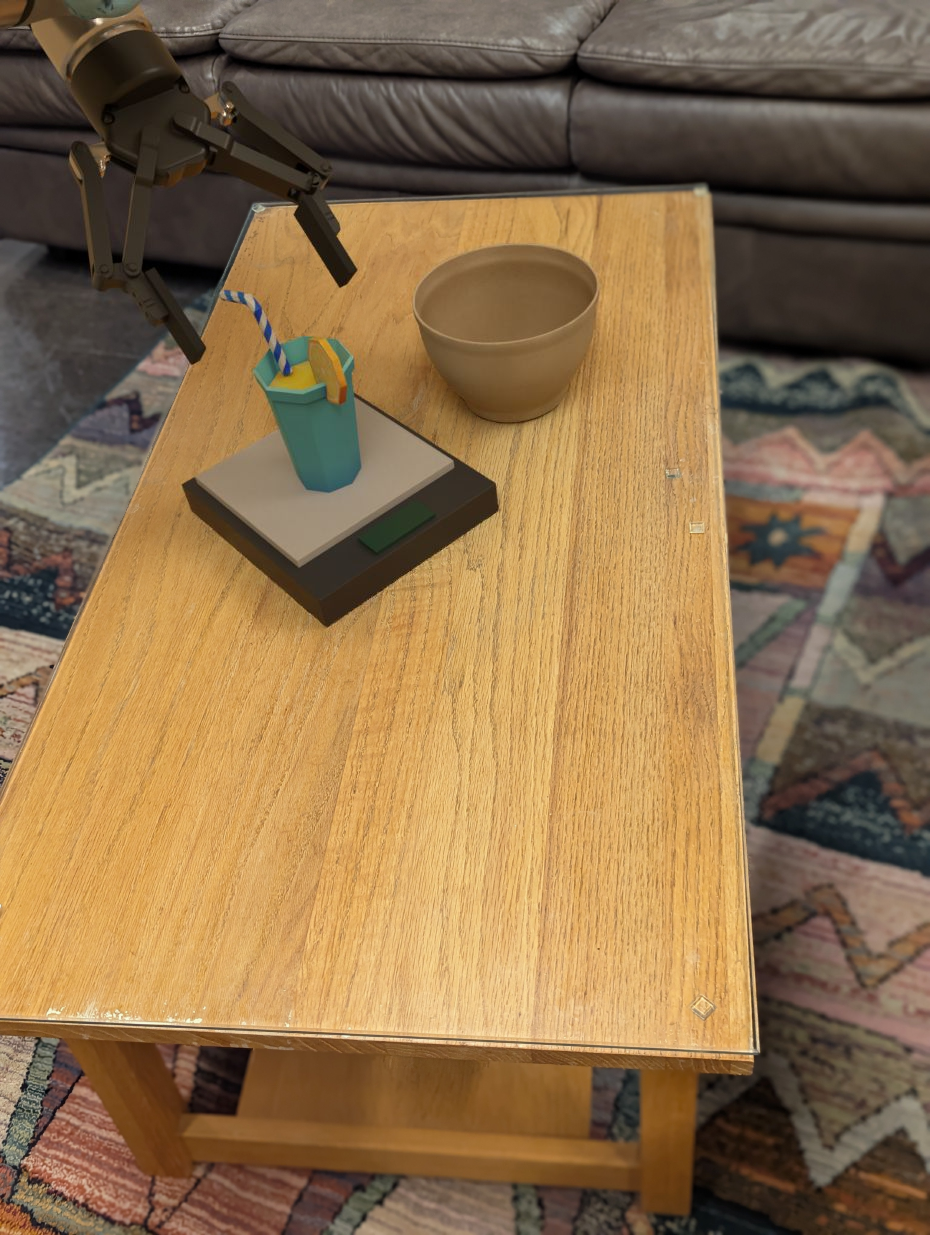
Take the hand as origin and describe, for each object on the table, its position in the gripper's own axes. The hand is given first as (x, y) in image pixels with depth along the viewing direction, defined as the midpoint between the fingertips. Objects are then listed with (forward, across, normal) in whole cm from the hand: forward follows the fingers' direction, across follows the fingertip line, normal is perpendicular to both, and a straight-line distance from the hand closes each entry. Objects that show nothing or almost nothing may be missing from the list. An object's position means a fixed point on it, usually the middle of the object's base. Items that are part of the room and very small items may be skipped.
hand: (276, 317), depth 80 cm
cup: (+11, 0, -9) cm, 14 cm away
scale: (+14, 0, -11) cm, 18 cm away
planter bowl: (+14, -21, -12) cm, 28 cm away
